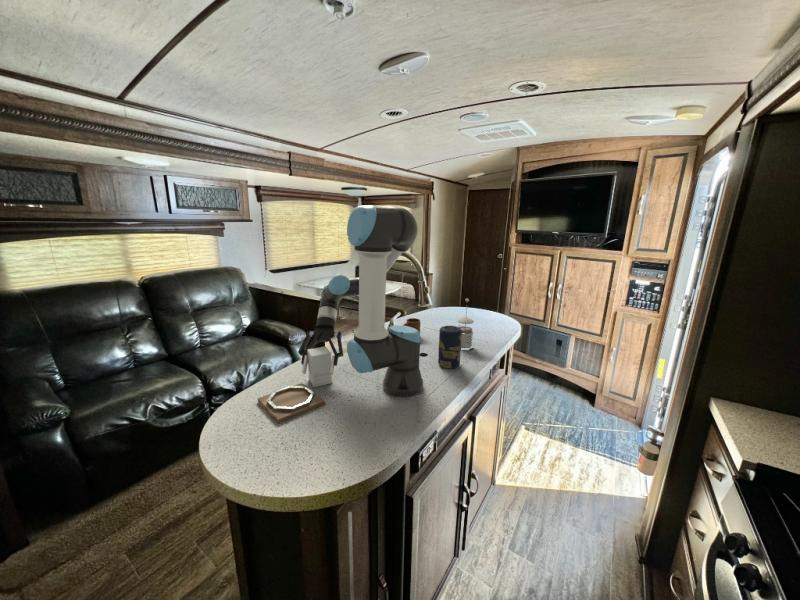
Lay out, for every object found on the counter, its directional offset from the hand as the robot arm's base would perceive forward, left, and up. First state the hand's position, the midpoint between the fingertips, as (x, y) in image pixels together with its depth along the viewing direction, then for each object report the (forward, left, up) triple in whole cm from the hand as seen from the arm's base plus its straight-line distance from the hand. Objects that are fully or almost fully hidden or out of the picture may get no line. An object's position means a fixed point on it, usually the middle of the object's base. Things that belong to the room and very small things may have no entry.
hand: (317, 373), depth 118 cm
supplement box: (+2, -2, -5) cm, 6 cm away
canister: (-22, -51, -5) cm, 56 cm away
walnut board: (-5, +13, -5) cm, 15 cm away
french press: (-14, -73, -5) cm, 75 cm away
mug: (+13, -63, -5) cm, 65 cm away
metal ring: (-5, +13, -3) cm, 14 cm away
